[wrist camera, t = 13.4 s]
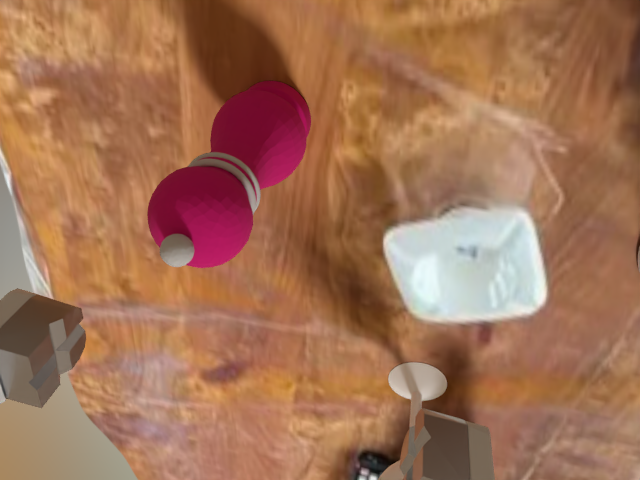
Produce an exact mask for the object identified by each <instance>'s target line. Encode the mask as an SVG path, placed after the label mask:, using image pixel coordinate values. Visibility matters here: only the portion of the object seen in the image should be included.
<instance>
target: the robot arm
mask: <svg viewBox="0 0 640 480" xmlns="http://www.w3.org/2000/svg"><path fill="white" fill-rule="evenodd" d="M638 268H639V272H640V247H639V251H638ZM82 319H83V314H82V309H81V308H78V307H75V306H72V305H69V304H66V303H63V302H60V301H56V300H53V299H50V298H47V297H44V296H41V295H38V294H35V293H31V292H28V291H25V290H21V289H15V290H13V291H10V292H9V293H8V294H7V295H5V296H4V298H2V299H1V300H0V404H1V403H2V402H4V401H5V398H6V399H10V400H14V401H17V402H21V403H25V404H28V405H32V406H35V407H39V408H42V407H43V405H44V404H45V403H46V402H47V400H48V399H49V398H50V397H51V395H52V394H53V393H54V392H55V390H56V389H57V388H58V386H59V385H60V374H62V373H64V372H67V371H69V370H71V369H72V368H73V367H74V366H75V364H76V363H77V361H78V360H79V359H80V356H81V354H82V352H83V350H84V348H85V342H86V334H85V330H84V329H83V328H82V327H81V326H80V324H79V323H80V322H81V320H82ZM400 469H401V471H402V473H403V475H404V478H403V480H495V478H494V467H493V457H492V446H491V436H490V431H489V429H488V427H485V426H482V425H479V424H475V423H471V422H468V421H464V420H463V419H460V418H456V417H453V416H449V415H445V414H442V413H438V412H435V411H431V410H427V409H424V408H422V409H420V410H419V412H418V413H417V415H416V419H415V426H412V427H410V428H409V430H408V432H407V434H406V436H405V439H404V442H403V446H402V451H401V458H400Z"/></svg>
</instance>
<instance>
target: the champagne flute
mask: <svg viewBox="0 0 640 480" xmlns="http://www.w3.org/2000/svg"><path fill="white" fill-rule="evenodd" d="M388 381H389V385H390V386H391V388H392V389H393V390H394V391H395V392H396V393H397V394H399V395H400V396H402V397H405V398H407V399H411V409H410V426H409V428H410V427H412V426H415V419H416V415H417V413H418V412H419V410H420V409H421V408H422V401H427V400H432V399H435V398H437V397H439V396H441V395H442V394H443V393H444V392H445V390H446V388H447V380H446V378H445V376H444V375H443V373H442V372H441V371H439V370H438V369H437V368H435V367H433V366H431V365H428V364H424V363H418V362H409V363H404V364H401V365H398V366H397V367H395V368H394V369H393V370H392V371H391V372H390V374H389V377H388ZM403 478H404V475H403V473H402V471H401V469H400V460H399V461H397V462H396V463H394V464H392V465H391V466H389V467H388V468H387V469H386V470H385V471H384V472H383V473H382V475H381V476H380V478H379V479H378V480H403Z"/></svg>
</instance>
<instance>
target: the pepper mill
mask: <svg viewBox="0 0 640 480" xmlns="http://www.w3.org/2000/svg"><path fill="white" fill-rule="evenodd" d="M310 125H311V116H310V112H309V109H308V106H307V104H306V102H305V100H304V99H303V98H302V96H301V95H300V94H299V93H298V92H297V91H296V90H295V89H293V88H292V87H290V86H289V85H287V84H284V83H282V82H278V81H263V82H259V83H257V84H254V85H253V86H251V87H250V88H249V89H248V90H247V91H244V92H241V93H239V94H237V95H234V96H233V97H231V98H230V99H229V100H227V101H226V103H225V104H224V105H223V106H222V107H221V109H220V110H219V112H218V113H217V115H216V117H215V119H214V122H213V126H212V131H211V140H210V141H211V152H210V153H205V154H202V155H200V156H198V157H197V158H195V159H194V160H193V161H192V162H191V163H190V165H189V166H188V167H185V168H182V169H179V170H176V171H175V172H173V173H171V174H170V175H168V176H167V177H166V178H165V179H163V180H162V181H161V182H160V184H159V185H158V186H157V188H156V189H155V191H154V193H153V194H152V197H151V199H150V202H149V206H148V224H149V228H150V232H151V235H152V236H153V238H154V240H155V242H156V244H157V245H158V246H159V247H160V256H161V257H162V259H163V260H164V261H165V262H166V263H167V264H168V265H170V266H173V267H181V266H184V265H188V266H192V267H198V268H206V267H214V266H218V265H221V264H223V263H225V262H227V261H229V260H231V259H232V258H234V257H235V256H236V255H237V254H238V253H239V252H240V251H241V250H242V248H243V247H244V245H245V244H246V243H247V241H248V239H249V236H250V233H251V230H252V226H253V214H254V212H255V211H256V209H257V207H258V205H259V201H260V190H261V189H263V188H266V187H269V186H272V185H275V184H277V183H279V182H281V181H282V180H284V179H285V178H287V177H288V176H289V175H290V174H291V173H292V172H293V171H294V170H295V169H296V167H297V166H298V165H299V163H300V162H301V160H302V158H303V155H304V153H305V148H306V138H307V136H308V134H309V130H310Z"/></svg>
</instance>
